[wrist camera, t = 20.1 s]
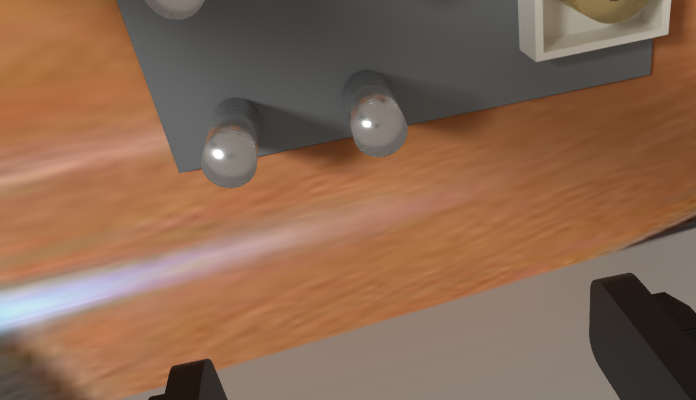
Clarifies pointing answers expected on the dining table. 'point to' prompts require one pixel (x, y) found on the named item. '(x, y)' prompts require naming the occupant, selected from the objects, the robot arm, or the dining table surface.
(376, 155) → the spacers
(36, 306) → the dining table surface
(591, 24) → the white square tray
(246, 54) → the mat
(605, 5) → the nut
